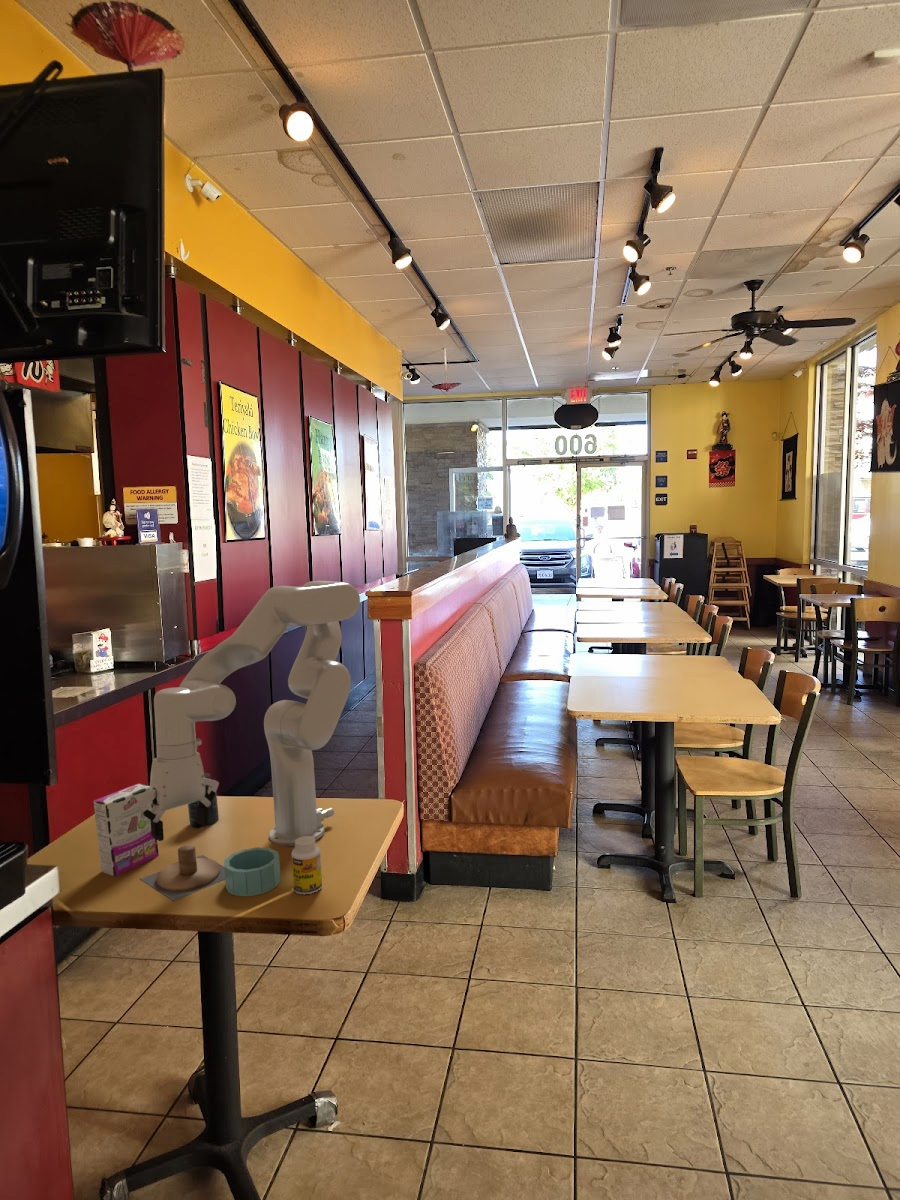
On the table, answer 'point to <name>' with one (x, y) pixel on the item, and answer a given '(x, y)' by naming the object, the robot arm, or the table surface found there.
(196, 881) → the lid
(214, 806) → the supplement bottle
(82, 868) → the table surface
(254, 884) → the bowl
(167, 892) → the mat
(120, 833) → the candy bar box
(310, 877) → the supplement bottle
